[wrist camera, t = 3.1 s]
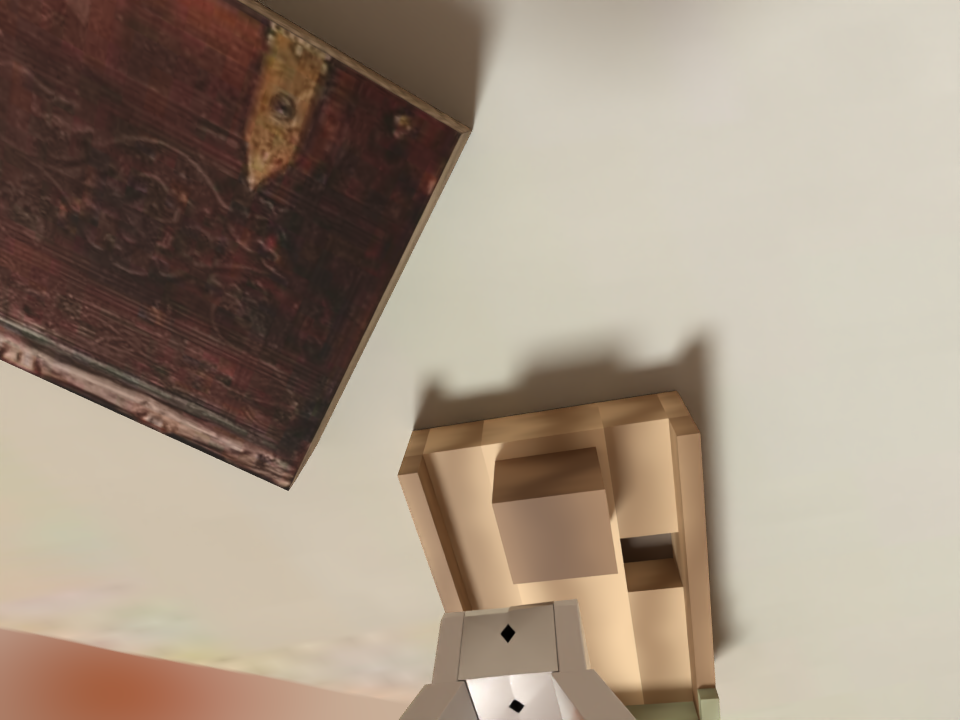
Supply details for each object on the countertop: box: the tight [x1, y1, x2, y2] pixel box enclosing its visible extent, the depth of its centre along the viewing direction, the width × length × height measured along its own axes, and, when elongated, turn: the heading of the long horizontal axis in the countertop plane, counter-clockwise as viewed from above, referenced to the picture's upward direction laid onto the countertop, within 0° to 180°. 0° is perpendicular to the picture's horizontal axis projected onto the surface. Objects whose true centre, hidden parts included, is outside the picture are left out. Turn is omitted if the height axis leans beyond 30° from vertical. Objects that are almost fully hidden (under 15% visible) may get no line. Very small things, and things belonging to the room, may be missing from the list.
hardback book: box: [0, 0, 472, 491], centre depth 22 cm, size 29×19×5 cm, turn 61°
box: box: [398, 391, 720, 720], centre depth 30 cm, size 14×22×5 cm, turn 13°
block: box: [492, 447, 618, 584], centre depth 26 cm, size 5×5×3 cm
